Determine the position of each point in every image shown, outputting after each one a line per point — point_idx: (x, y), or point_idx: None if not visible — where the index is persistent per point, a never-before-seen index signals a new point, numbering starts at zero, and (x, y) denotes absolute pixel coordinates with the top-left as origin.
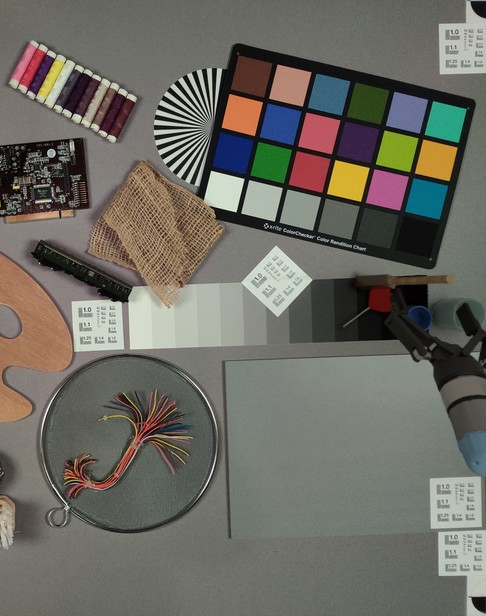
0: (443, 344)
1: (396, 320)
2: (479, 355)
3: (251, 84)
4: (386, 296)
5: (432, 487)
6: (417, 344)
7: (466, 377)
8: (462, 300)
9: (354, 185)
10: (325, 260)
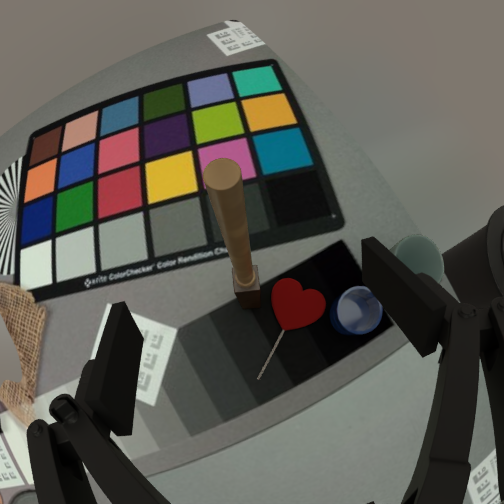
0: None
1: (30, 457)
2: (494, 427)
3: (45, 151)
4: (300, 299)
5: (469, 483)
6: None
7: None
8: (397, 246)
9: (180, 176)
10: (183, 291)
